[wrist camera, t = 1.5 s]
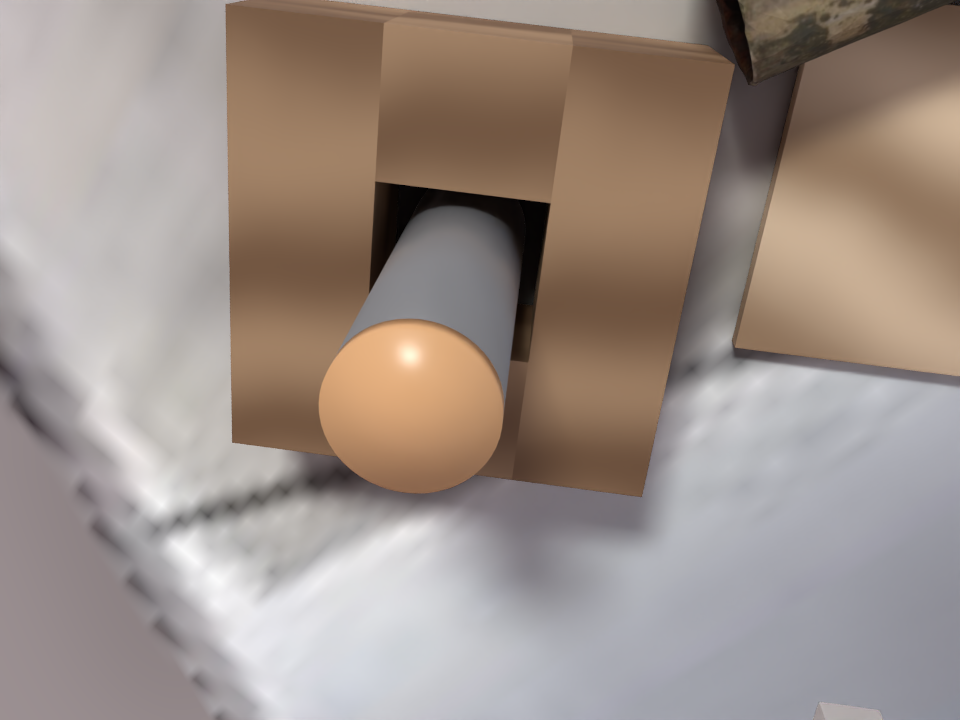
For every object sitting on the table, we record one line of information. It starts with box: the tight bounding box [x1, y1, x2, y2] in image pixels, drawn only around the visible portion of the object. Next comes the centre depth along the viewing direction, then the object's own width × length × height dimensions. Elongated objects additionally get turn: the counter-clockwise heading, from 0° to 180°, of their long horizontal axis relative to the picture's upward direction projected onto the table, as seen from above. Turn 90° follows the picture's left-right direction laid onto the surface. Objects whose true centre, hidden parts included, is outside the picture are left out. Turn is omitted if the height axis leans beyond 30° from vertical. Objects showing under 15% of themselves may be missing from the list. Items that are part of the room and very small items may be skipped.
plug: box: [319, 188, 526, 493], centre depth 26 cm, size 4×4×14 cm
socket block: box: [226, 0, 735, 497], centre depth 30 cm, size 14×14×5 cm
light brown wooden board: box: [732, 4, 960, 376], centre depth 30 cm, size 12×12×1 cm
